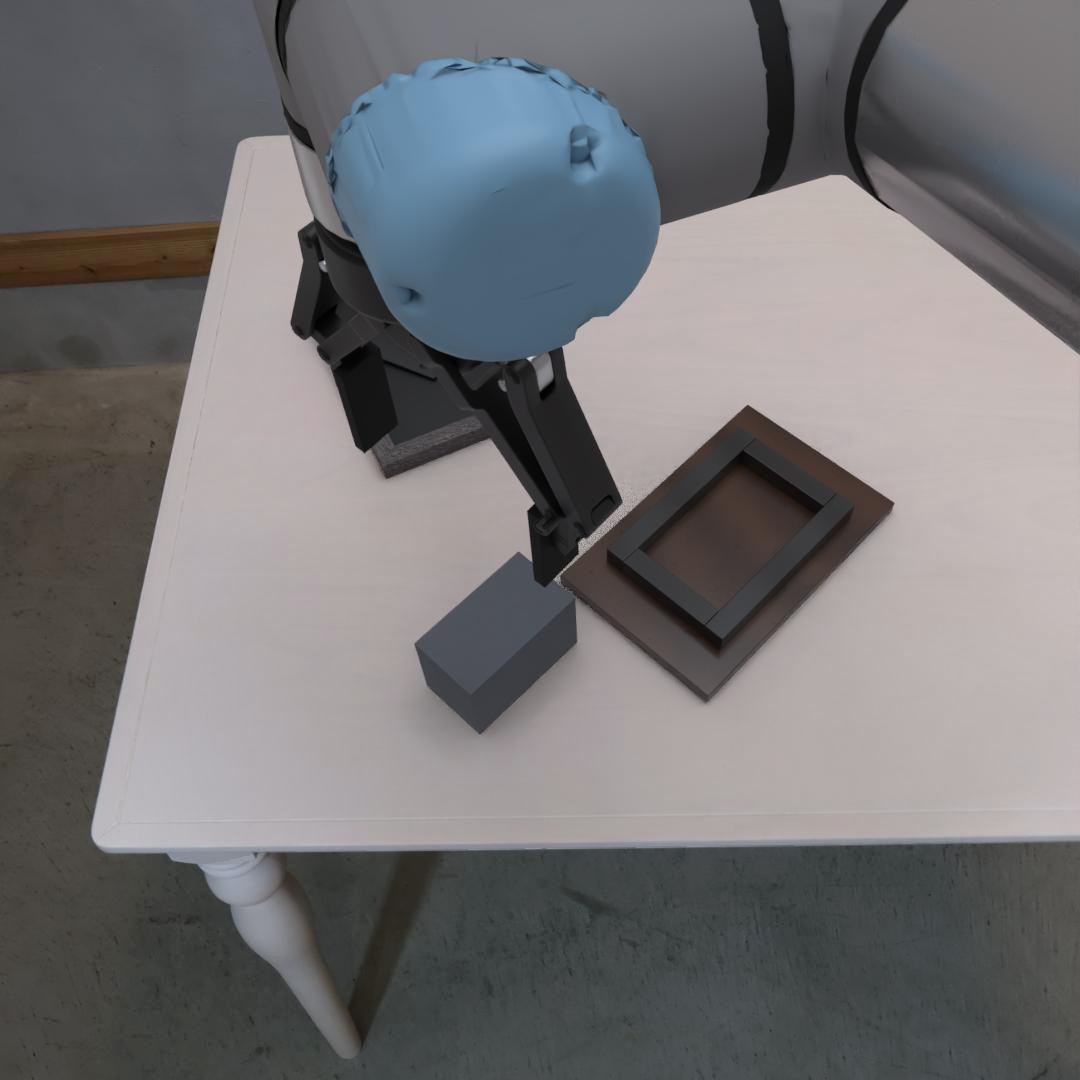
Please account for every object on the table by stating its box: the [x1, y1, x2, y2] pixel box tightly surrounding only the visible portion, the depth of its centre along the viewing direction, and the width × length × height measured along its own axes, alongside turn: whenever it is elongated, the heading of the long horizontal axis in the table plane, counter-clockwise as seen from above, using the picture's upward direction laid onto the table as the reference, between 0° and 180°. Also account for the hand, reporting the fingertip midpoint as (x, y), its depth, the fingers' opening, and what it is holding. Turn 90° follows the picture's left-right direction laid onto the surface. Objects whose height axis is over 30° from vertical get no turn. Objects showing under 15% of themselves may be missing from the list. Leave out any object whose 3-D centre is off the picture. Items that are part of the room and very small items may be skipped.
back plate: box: [560, 404, 895, 703], centre depth 77 cm, size 20×13×2 cm, turn 136°
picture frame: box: [338, 301, 495, 479], centre depth 87 cm, size 13×2×18 cm
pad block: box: [413, 551, 578, 735], centre depth 71 cm, size 9×5×6 cm, turn 136°
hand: (463, 498), depth 62 cm, fingers open, 13 cm apart
